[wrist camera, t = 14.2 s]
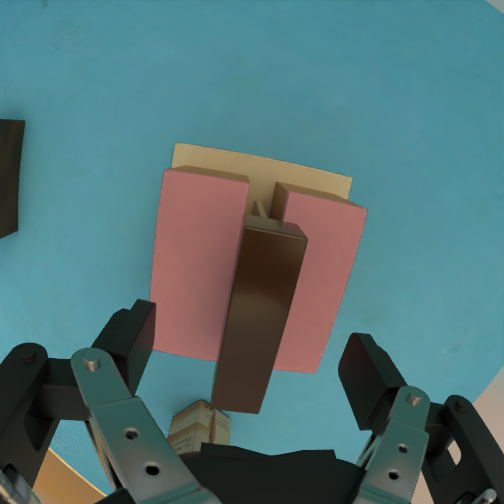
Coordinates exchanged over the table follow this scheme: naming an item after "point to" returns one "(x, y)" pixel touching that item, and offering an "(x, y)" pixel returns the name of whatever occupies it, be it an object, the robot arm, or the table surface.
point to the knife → (256, 309)
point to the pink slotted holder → (225, 244)
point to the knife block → (9, 173)
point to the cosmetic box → (198, 428)
